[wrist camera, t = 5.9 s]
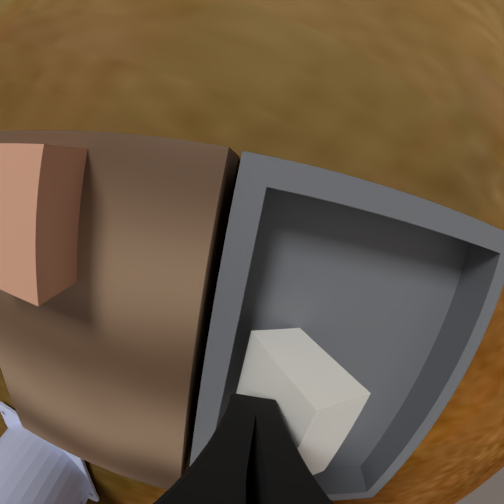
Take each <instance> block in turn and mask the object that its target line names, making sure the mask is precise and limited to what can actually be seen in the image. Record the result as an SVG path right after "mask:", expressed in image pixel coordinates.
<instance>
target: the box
mask: <svg viewBox="0 0 504 504" xmlns="http://www.w3.org/2000/svg"><path fill="white" fill-rule="evenodd" d="M503 285H504V231H503V230H501V229H498V228H496V227H494V226H491V225H489V224H487V223H484V222H482V221H480V220H477V219H475V218H472V217H470V216H468V215H465V214H463V213H460V212H457V211H455V210H452V209H450V208H447V207H444V206H442V205H439V204H436V203H433V202H431V201H428V200H425V199H422V198H419V197H416V196H414V195H411V194H408V193H405V192H402V191H398V190H395V189H392V188H389V187H386V186H383V185H379V184H376V183H373V182H369V181H366V180H363V179H359V178H356V177H352V176H348V175H345V174H341V173H337V172H334V171H330V170H326V169H322V168H318V167H314V166H310V165H306V164H301V163H297V162H293V161H288V160H284V159H279V158H275V157H270V156H265V155H260V154H255V153H250V152H245V151H242V155H241V160H240V165H239V170H238V175H237V180H236V185H235V190H234V195H233V200H232V205H231V210H230V215H229V221H228V226H227V231H226V237H225V242H224V247H223V253H222V258H221V264H220V269H219V275H218V281H217V286H216V292H215V298H214V304H213V310H212V316H211V322H210V328H209V334H208V340H207V346H206V352H205V359H204V365H203V372H202V378H201V385H200V392H199V399H198V406H197V413H196V420H195V427H194V435H193V442H192V450H191V458H190V466H191V464H192V463H193V462H194V461H195V459H196V458H197V457H198V455H199V454H200V453H201V451H202V450H203V449H204V447H205V446H206V445H207V443H208V442H209V440H210V438H211V437H212V435H213V434H214V432H215V430H216V429H217V427H218V425H219V423H220V422H221V420H222V418H223V416H224V413H225V411H226V409H227V406H228V403H229V399H230V395H232V394H234V393H236V392H237V388H238V384H239V380H240V375H241V371H242V367H243V363H244V359H245V355H246V351H247V346H248V342H249V338H250V334H251V331H253V330H273V329H289V328H301V329H302V330H303V331H304V332H305V333H306V334H307V335H308V336H309V337H310V338H311V339H312V340H313V341H314V342H316V343H317V344H318V345H319V346H320V347H321V348H322V349H323V350H324V351H325V352H326V353H327V354H328V355H330V356H331V357H332V358H333V359H334V360H335V361H336V362H337V363H338V364H339V365H340V366H341V367H343V368H344V369H345V370H346V371H347V372H348V373H349V374H350V375H351V376H352V377H354V378H355V379H356V380H357V381H358V382H359V383H360V384H361V385H362V386H363V387H364V388H366V389H367V390H368V391H369V392H370V393H371V394H370V396H369V398H368V399H367V401H366V403H365V405H364V407H363V409H362V410H361V412H360V414H359V416H358V418H357V419H356V421H355V423H354V425H353V426H352V428H351V430H350V431H349V433H348V435H347V436H346V438H345V440H344V441H343V443H342V444H341V446H340V447H339V449H338V451H337V452H336V454H335V455H334V457H333V458H332V460H331V461H330V463H329V464H328V466H327V467H326V469H325V470H324V471H322V472H320V473H317V474H314V475H313V476H314V478H315V480H316V481H317V482H318V484H319V485H320V487H321V488H322V490H323V491H324V492H325V494H326V495H327V496H328V497H329V499H330V500H331V501H332V500H350V499H362V498H371V497H374V496H375V495H376V494H377V493H378V492H379V491H380V490H381V489H382V487H383V486H384V485H385V484H386V483H387V482H388V481H389V480H390V479H391V478H392V477H393V475H394V474H395V473H396V472H397V471H398V470H399V469H400V467H401V466H402V465H403V464H404V463H405V461H406V460H407V459H408V458H409V457H410V455H411V454H412V453H413V452H414V450H415V449H416V448H417V446H418V445H419V444H420V442H421V441H422V440H423V438H424V437H425V436H426V434H427V433H428V432H429V430H430V429H431V427H432V426H433V424H434V423H435V422H436V420H437V419H438V417H439V416H440V414H441V413H442V411H443V409H444V408H445V406H446V405H447V403H448V402H449V400H450V398H451V397H452V395H453V393H454V392H455V390H456V388H457V387H458V385H459V383H460V381H461V380H462V378H463V376H464V374H465V372H466V370H467V369H468V367H469V365H470V363H471V361H472V359H473V357H474V355H475V353H476V351H477V349H478V347H479V345H480V342H481V340H482V338H483V336H484V334H485V331H486V329H487V327H488V324H489V322H490V320H491V317H492V315H493V312H494V310H495V307H496V304H497V302H498V299H499V296H500V293H501V290H502V288H503ZM190 466H189V467H190Z"/></svg>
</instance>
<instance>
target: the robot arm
mask: <svg viewBox="0 0 504 504" xmlns="http://www.w3.org/2000/svg"><path fill="white" fill-rule="evenodd" d="M0 411H1V414H2V416H3V418H4V420H5V423H6V425H7V427H8V429H7V430H6V432H5V433H4V434H3V435H2V436H1V438H0V504H86V502H87V500H88V498H89V499H91V500H93V501H96V502H98V501H99V496H98V494H97V492H96V490H95V487H94V485H93V482H92V480H91V477H90V475H89V472H88V470H87V467H86V464H85V462H84V460H83V459H81V458H79V457H77V456H75V455H73V454H70V453H68V452H66V451H64V450H62V449H61V448H59V447H57V446H55V445H53V444H51V443H49V442H47V441H46V440H44V439H42V438H40V437H39V436H37V435H35V434H33V433H32V432H30V431H28V430H27V429H25V428H24V427H22V424H21V422H20V420H19V417H18V415H17V412H16V411H15V410H13V409H12V408H10V407H9V406H7V405H6V404H4V403H3V402H0ZM153 504H333V502H332V501H331V500H330V499H329V497H328V496H327V495H326V494H325V492H324V491H323V490H322V488H321V487H320V485H319V484H318V482H317V481H316V480H315V478H314V476H313V475H312V473H311V472H310V470H309V469H308V467H307V465H306V464H305V462H304V460H303V458H302V457H301V455H300V453H299V451H298V449H297V447H296V445H295V443H294V441H293V439H292V437H291V435H290V433H289V431H288V429H287V426H286V424H285V422H284V419H283V417H282V414H281V412H280V409H279V406H278V403H277V402H276V401H275V400H274V399H267V398H260V397H254V396H248V395H243V394H237V393H234V394H232V395H230V399H229V403H228V406H227V409H226V411H225V413H224V416H223V418H222V420H221V422H220V423H219V425H218V427H217V429H216V430H215V432H214V434H213V435H212V437H211V438H210V440H209V442H208V443H207V445H206V446H205V447H204V449H203V450H202V451H201V453H200V454H199V455H198V457H197V458H196V459H195V461H194V462H193V463H192V464H191V466H190V467H189V468H188V469H187V470H186V472H185V473H184V474H183V475H182V476H181V477H180V478H179V479H178V480H177V481H176V482H175V484H174V485H173V486H172V487H171V488H170V489H168V490H167V491H166V492H165V493H164V494H163V495H162V496H161V497H160V498H159V499H158V500H157V501H156V502H154V503H153Z"/></svg>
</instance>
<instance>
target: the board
mask: <svg viewBox="0 0 504 504" xmlns="http://www.w3.org/2000/svg"><path fill="white" fill-rule="evenodd" d="M0 143H24V144H49V145H59V146H69V147H78V148H87V149H88V151H87V157H86V163H85V170H84V177H83V185H82V193H81V202H80V213H79V226H78V245H77V282H76V283H74V284H73V285H71V286H70V287H68V288H66V289H65V290H63V291H62V292H60V293H58V294H57V295H55V296H54V297H52V298H51V299H49V300H48V301H46V302H45V303H43V304H41V305H40V306H36V305H34V304H32V303H29V302H27V301H25V300H22V299H20V298H18V297H16V296H14V295H11V294H9V293H7V292H5V291H3V290H1V289H0V366H1V370H2V373H3V376H4V379H5V382H6V385H7V388H8V391H9V394H10V397H11V400H12V402H13V405H14V407H15V410H16V412H17V415H18V417H19V420H20V422H21V424H22V427H24V428H25V429H27V430H28V431H30V432H32V433H33V434H35V435H37V436H39V437H40V438H42V439H44V440H46V441H47V442H49V443H51V444H53V445H55V446H57V447H59V448H61V449H62V450H64V451H66V452H68V453H70V454H73V455H75V456H77V457H79V458H81V459H83V460H85V461H88V462H90V463H92V464H95V465H97V466H99V467H102V468H104V469H107V470H109V471H112V472H114V473H117V474H120V475H122V476H125V477H128V478H131V479H134V480H137V481H140V482H143V483H146V484H150V485H153V486H156V487H160V488H163V489H167V490H168V489H170V488H171V487H172V486H173V485H174V484H175V482H176V481H177V480H178V479H179V478H180V477H181V476H182V475H183V474H184V472H185V468H186V464H187V461H188V457H189V453H190V446H191V438H192V430H193V423H194V415H195V408H196V400H197V393H198V386H199V379H200V373H201V366H202V359H203V353H204V346H205V340H206V333H207V327H208V321H209V315H210V309H211V303H212V297H213V291H214V285H215V279H216V274H217V268H218V262H219V257H220V251H221V246H222V240H223V235H224V229H225V224H226V219H227V214H228V208H229V203H230V198H231V193H232V188H233V183H234V178H235V173H236V168H237V163H238V158H239V156H238V155H237V154H236V153H235V152H234V151H233V150H232V149H231V148H229V147H226V146H220V145H214V144H208V143H201V142H194V141H187V140H180V139H172V138H164V137H155V136H145V135H135V134H123V133H110V132H94V131H69V130H18V131H0Z"/></svg>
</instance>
